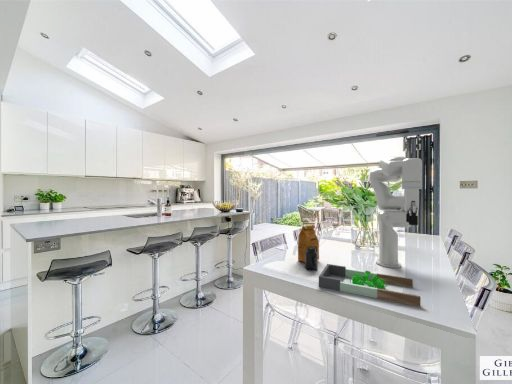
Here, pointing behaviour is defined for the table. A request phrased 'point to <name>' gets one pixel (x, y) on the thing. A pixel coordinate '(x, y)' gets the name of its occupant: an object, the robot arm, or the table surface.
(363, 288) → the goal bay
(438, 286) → the table surface
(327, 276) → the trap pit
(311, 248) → the supplement bottle
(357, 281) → the green bumpy clump
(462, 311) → the table surface
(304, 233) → the coffee package
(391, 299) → the walnut channel
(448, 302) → the table surface
